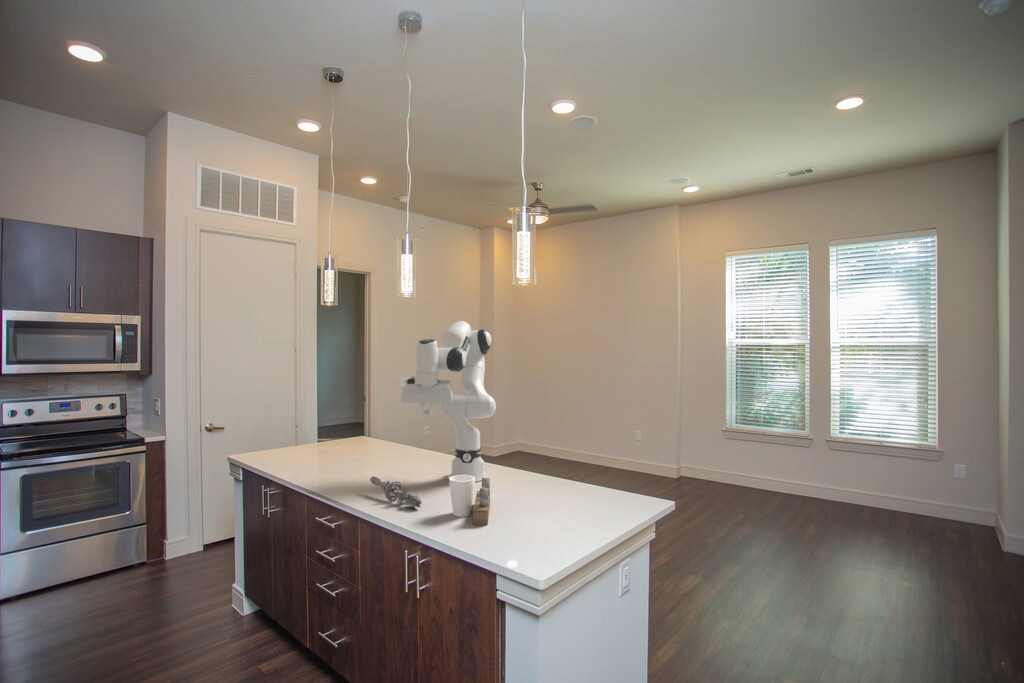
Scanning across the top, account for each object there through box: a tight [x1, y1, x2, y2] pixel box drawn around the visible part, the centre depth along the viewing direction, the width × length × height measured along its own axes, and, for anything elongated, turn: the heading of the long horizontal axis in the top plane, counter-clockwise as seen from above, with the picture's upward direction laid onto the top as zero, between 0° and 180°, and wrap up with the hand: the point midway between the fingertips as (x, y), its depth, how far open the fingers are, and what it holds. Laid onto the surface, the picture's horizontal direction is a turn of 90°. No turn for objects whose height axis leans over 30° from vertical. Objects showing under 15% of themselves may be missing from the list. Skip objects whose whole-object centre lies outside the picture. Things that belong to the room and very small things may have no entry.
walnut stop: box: [472, 477, 491, 526], centre depth 187 cm, size 24×5×11 cm, turn 1°
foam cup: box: [448, 475, 476, 518], centre depth 186 cm, size 10×9×13 cm
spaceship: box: [370, 475, 423, 508], centre depth 202 cm, size 8×35×8 cm
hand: (427, 414), depth 204 cm, fingers closed
